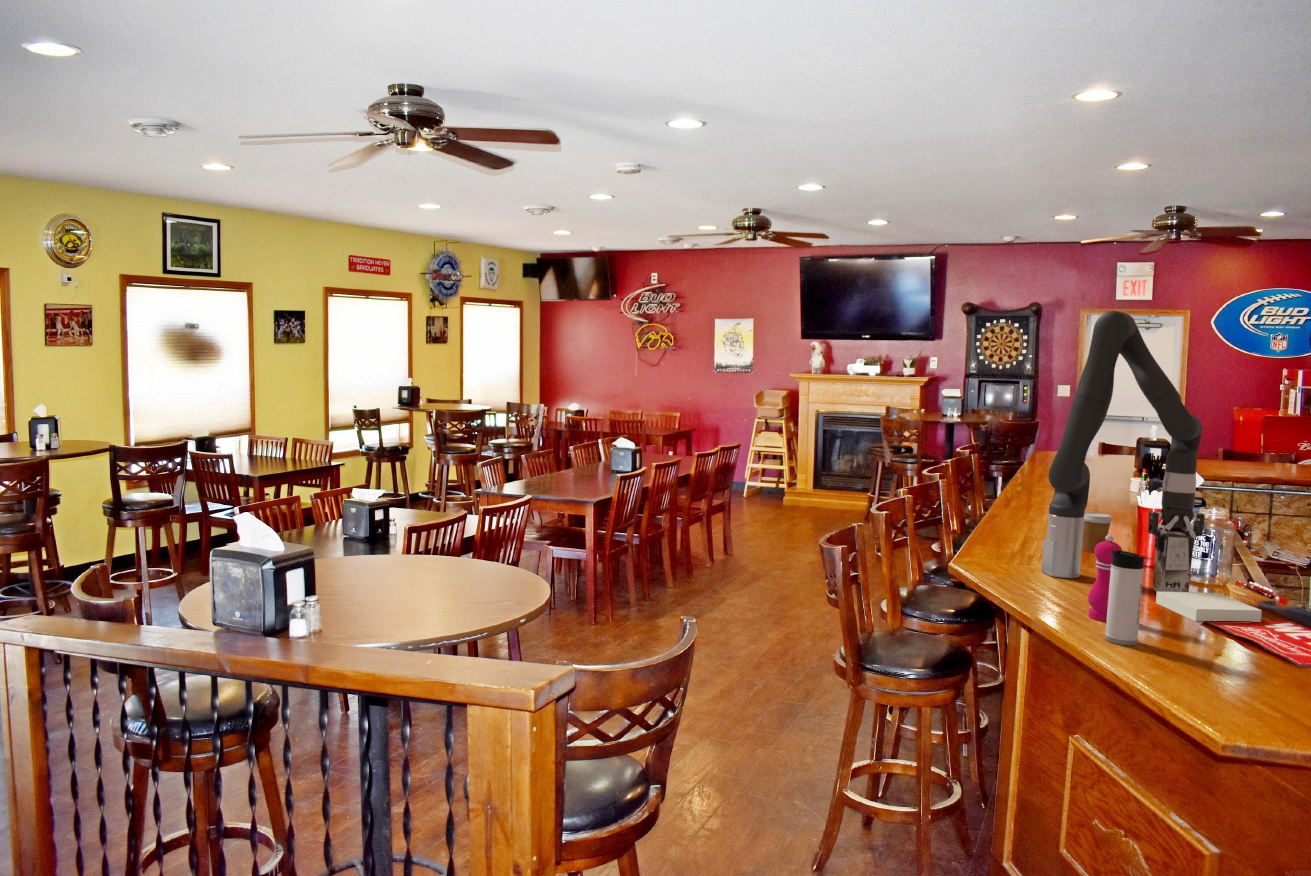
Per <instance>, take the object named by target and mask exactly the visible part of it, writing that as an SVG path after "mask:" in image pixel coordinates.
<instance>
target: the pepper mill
mask: <svg viewBox="0 0 1311 876" xmlns="http://www.w3.org/2000/svg"><path fill="white" fill-rule="evenodd" d="M1114 539H1115V538H1114V536H1113V535H1111V534H1108V535H1107V536H1106V538H1105V540H1106V541H1103V542H1100V543H1098V544H1097V545H1096V547H1095V550H1094V556H1095V558H1097V559H1096V561H1095V566H1094V567H1096V569H1097V573H1096V579H1095V581H1094V584H1093V585H1092V587H1091V588H1090V589H1089V593H1088V595H1087V602H1088V603H1089V605H1090V606H1091V608H1089V609H1088V617H1089V618H1090V619H1092V620H1095V621H1098V622H1099V621H1100V622H1107V610H1108V597H1109V585H1110V573H1111V564H1112V553H1111V551H1112V550H1120V551H1123V548H1122V547H1121V545H1119V544H1118V543H1117V542H1115V541H1114Z"/></svg>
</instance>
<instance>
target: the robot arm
mask: <svg viewBox="0 0 1311 876" xmlns="http://www.w3.org/2000/svg"><path fill="white" fill-rule="evenodd" d="M1094 323H1095V324H1094V326H1093V330H1092V334H1091V335H1092V337H1091V341H1090V346H1089V351H1088V355H1087V359H1086V362H1085V365H1084V367H1083V370H1082V373H1081V376H1080V379H1079V381H1078V384H1077V387H1076V390H1075V392H1074V395H1073V399H1072V403H1071V406H1070V409H1069V410H1070V411H1069V413H1068V416H1067V419H1066V423H1065V427H1064V431H1063V435H1062V438H1061V442H1060V444H1059V447H1058V448H1057V451H1056V454H1055V456H1054V458H1053V460H1052V462H1051V465H1050V468H1049V469H1048V482H1049V483H1050V485H1051V487H1052V488H1053V489H1054V492H1053V497H1052V499H1051V502H1050V504H1049V507H1048V516H1047V517H1048V518H1047V530H1046V531H1047V534H1046V538H1044V539H1043V546H1042V556H1041V557H1042V558H1041V560H1042V561H1041V569H1040V570H1041V572H1042V573H1043V574H1045V575H1048V576H1050V577H1056V578H1065V579H1077V578H1079V577H1080V573H1081V563H1082V562H1081V559H1082V551H1083V547H1082V538H1083V526H1084V513H1085V512H1086V509H1087V507H1088V500H1089V494H1090V493H1089V492H1090V485H1091V483H1090V481H1091V473H1090V468H1089V467H1088V464H1087V463H1085V462H1086V457H1087V454H1088V452H1089V451H1088V450H1089V448H1090V446H1091V445H1092V442H1093V440H1094V439H1095V437H1096V436H1097V434H1098V433H1099V430H1100V429H1101V428H1102V426H1103V423H1104V421H1105V420H1106V417H1107V414H1108V411H1109V408H1110V405H1111V402H1112V398H1113V394H1114V393H1113V392H1114V385H1115V384H1114V383H1115V370H1116V369H1115V368H1116V365H1117V361H1118V358H1119V356H1120V355H1121V356H1122V358H1123V359H1124V360H1125V362H1126V363H1127V365H1128V367H1129V368H1130V370H1131V372H1132V375H1133V376H1134V379H1135V381H1136V383H1137V386H1138V387H1139V389H1140V390H1141V392H1142V394H1143V396H1144V397H1145V398H1146V399H1147V401H1148V403H1149V404H1150V405H1151V407H1152V408H1153V409H1154V410H1155V412H1156V414H1157V416H1158V418H1159V421H1160V422H1161V424H1162V426H1163V428H1164V429H1165V431H1166V433H1167V434H1168V435H1169V436H1170V437H1171V440H1170V441H1171V442H1170V449H1169V451H1168V452H1167V454H1166V455H1167V456H1166V461H1165V469H1164V472H1165V473H1164V476H1163V482H1162V493H1161V510H1160V511H1152V510H1151V511H1149V512H1148V524H1147V532H1148V533H1149V534H1151V535H1153V536H1154V548H1155V549H1156V550H1157V551H1159V552H1163V549H1164V538H1163V537H1164V535H1165V534H1166V533H1167V532H1168V531H1171V529H1177V528H1179V529H1181V530H1182V531H1183V533H1184V534H1186V535H1188V536H1190V537H1193V538H1194V540H1195V539H1196V538H1197V537H1202V536H1203V533H1204V528H1205V519H1206V518H1205V517H1206V516H1205V514H1204V513H1200V512H1197V511H1196V512H1194V508H1195V502H1196V501H1195V500H1196V489H1197V488H1196V487H1197V467H1198V466H1197V465H1198V452H1199V449H1200V445H1201V439H1202V434H1203V425H1202V422H1201V420H1200V419H1199V417H1198V416H1197V415H1194V414H1192V413H1190V412H1189V411H1188V409H1187V408H1186V406H1185V405H1184V403H1183V402H1182V397H1181V394H1180V393H1179V391H1178V390H1177V388H1176V387H1175V386H1174V384H1173V383H1172V382H1171V380H1170V379H1169V377H1168V376H1167V375H1166V373H1165V372H1164V370H1163V369H1162V367H1161V366H1160V365H1159V363H1158V362H1157V360H1156V359H1155V358H1154V356H1153V354H1152V352H1151V351H1150V349H1149V348H1148V346H1147V344H1146V343H1145V340H1144V339H1143V336H1142V333H1141V331H1140V330H1139V327H1138V326H1137V323H1136V321H1135V319H1134V318H1133V317H1132V316H1131V314H1128V313H1126V312H1123V311H1118V310H1110V311H1106V312H1104V313H1102V314H1101V315H1100V316H1098V318H1097V319H1096V322H1094ZM1159 520H1161V521H1160V522H1159ZM1191 521H1193V525H1192V524H1191ZM1194 545H1195V541H1194V542H1193V549H1194V548H1195V547H1194Z"/></svg>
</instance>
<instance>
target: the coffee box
mask: <svg viewBox="0 0 1311 876" xmlns="http://www.w3.org/2000/svg"><path fill="white" fill-rule="evenodd" d="M1163 538H1164V549H1163V552H1159V551H1157V550H1156V548H1155V552H1154V563H1153V564H1154V565H1153V575H1152V576H1153V577H1152V587H1151V588H1152V590H1153V591H1155V592H1156V593H1157V592H1190V583H1191V572H1192V571H1191V570H1192V561H1193V551H1194V548H1193V542H1194V543H1195V539H1194V538H1193V537H1190V536H1188V535H1186V534H1185V533H1184V532H1182V531H1181V532H1180V531H1171V530H1169V531H1168V532H1167V533H1166V534H1165V535H1164V537H1163Z"/></svg>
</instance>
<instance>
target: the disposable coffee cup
mask: <svg viewBox="0 0 1311 876" xmlns="http://www.w3.org/2000/svg"><path fill="white" fill-rule="evenodd" d="M1112 521H1113V519H1112V515H1110V514H1107V513H1103V512H1095V511H1094V512H1092V511H1085V513H1084V526H1083V538H1082V551H1084V550H1086V551H1085V552H1087V551H1091V552H1090V553H1093V552H1094V550H1095V547H1096V545H1097V544H1098V543H1100V542H1103V541H1106V540H1105V538H1106V536H1107V535H1109V531H1110V527H1111V526H1110V525H1111V523H1112Z"/></svg>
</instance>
